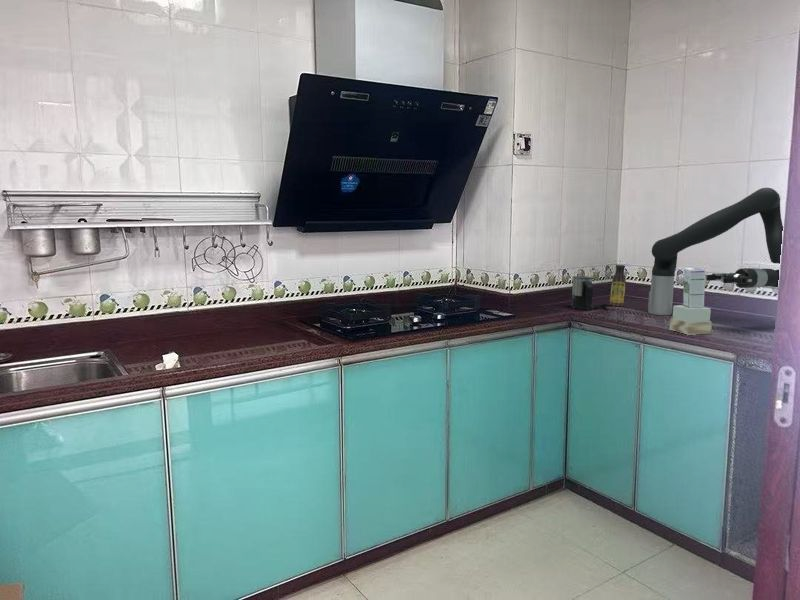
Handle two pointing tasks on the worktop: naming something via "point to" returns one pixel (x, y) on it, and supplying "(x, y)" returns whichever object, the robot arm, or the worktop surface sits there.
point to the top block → (691, 314)
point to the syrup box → (694, 287)
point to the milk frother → (583, 293)
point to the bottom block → (690, 327)
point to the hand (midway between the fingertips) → (715, 278)
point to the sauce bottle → (618, 286)
